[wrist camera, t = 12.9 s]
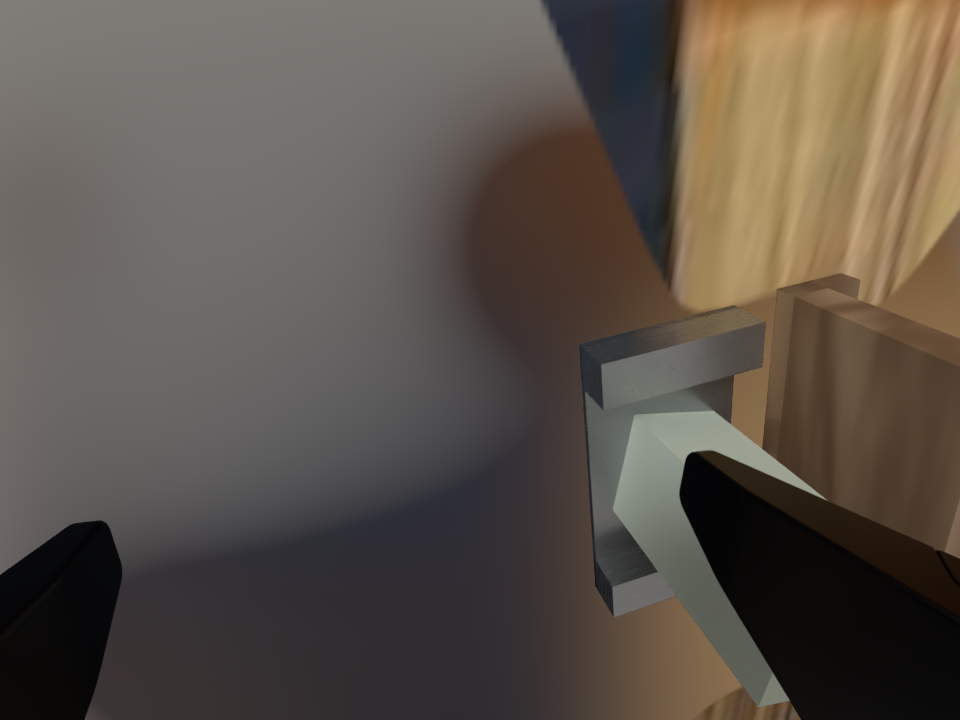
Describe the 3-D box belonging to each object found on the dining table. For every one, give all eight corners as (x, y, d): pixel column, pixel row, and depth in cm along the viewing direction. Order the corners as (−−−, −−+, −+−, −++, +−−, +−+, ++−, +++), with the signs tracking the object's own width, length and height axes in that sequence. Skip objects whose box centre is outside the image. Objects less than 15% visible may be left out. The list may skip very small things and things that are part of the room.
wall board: (749, 590, 33) (888, 748, 25) (777, 289, 25) (993, 381, 17) (798, 573, 34) (949, 721, 26) (841, 273, 26) (1078, 355, 18)
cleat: (595, 586, 30) (613, 617, 28) (578, 344, 24) (601, 364, 22) (719, 545, 31) (744, 573, 29) (733, 305, 25) (766, 322, 23)
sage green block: (609, 523, 28) (751, 724, 19) (634, 414, 26) (808, 585, 17) (683, 516, 29) (849, 702, 20) (713, 410, 27) (915, 569, 18)
